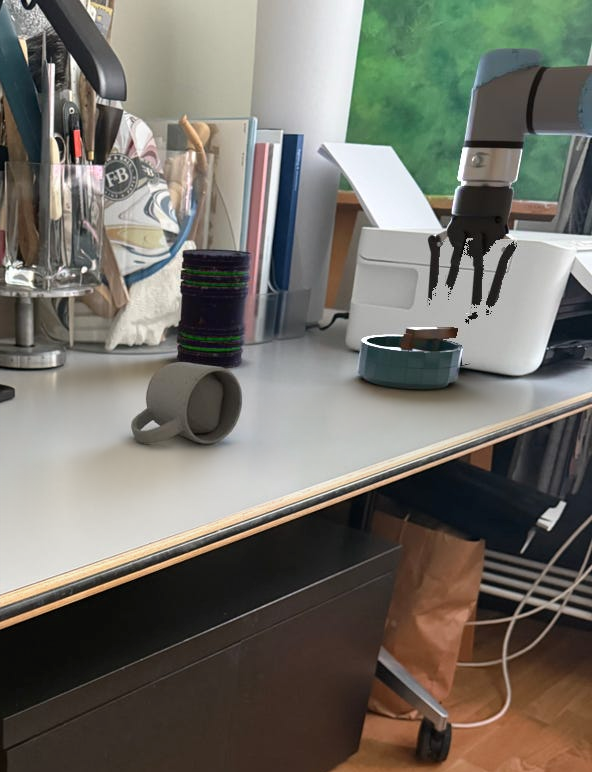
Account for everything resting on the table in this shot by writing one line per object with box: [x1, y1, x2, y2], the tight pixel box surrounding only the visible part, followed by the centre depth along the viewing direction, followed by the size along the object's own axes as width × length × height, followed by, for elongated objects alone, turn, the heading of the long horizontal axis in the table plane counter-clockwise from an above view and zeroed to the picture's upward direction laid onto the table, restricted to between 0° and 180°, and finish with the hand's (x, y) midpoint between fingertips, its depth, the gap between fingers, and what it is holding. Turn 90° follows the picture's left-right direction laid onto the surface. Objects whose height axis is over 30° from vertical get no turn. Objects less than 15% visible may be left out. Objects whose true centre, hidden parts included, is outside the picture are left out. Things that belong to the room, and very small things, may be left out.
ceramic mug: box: [130, 361, 243, 445], centre depth 97 cm, size 11×8×8 cm
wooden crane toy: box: [386, 326, 458, 351], centre depth 130 cm, size 18×6×7 cm, turn 134°
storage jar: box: [176, 248, 252, 369], centre depth 134 cm, size 10×10×15 cm
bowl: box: [356, 334, 463, 390], centre depth 128 cm, size 13×13×5 cm
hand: (452, 363), depth 136 cm, fingers closed on wooden crane toy, 2 cm apart
